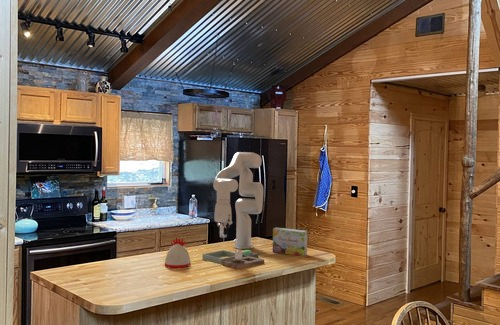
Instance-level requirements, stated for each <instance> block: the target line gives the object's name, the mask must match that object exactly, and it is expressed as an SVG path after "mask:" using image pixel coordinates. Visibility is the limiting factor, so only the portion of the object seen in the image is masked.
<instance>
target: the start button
mask: <svg viewBox="0 0 500 325" xmlns="http://www.w3.org/2000/svg"><path fill="white" fill-rule="evenodd" d="M243 252H244V254H245V255H250V254H251V252H252V250H250V249H243Z"/></svg>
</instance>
